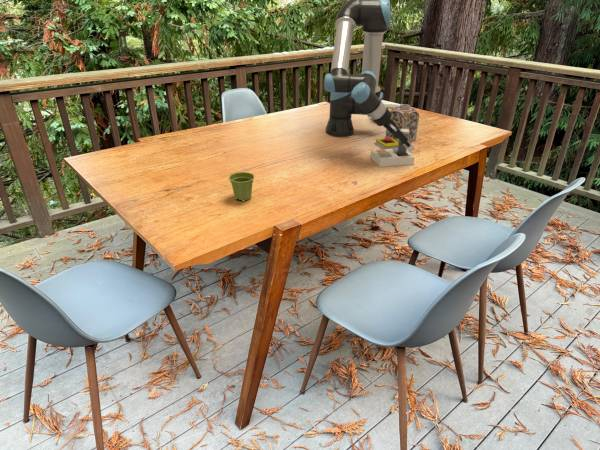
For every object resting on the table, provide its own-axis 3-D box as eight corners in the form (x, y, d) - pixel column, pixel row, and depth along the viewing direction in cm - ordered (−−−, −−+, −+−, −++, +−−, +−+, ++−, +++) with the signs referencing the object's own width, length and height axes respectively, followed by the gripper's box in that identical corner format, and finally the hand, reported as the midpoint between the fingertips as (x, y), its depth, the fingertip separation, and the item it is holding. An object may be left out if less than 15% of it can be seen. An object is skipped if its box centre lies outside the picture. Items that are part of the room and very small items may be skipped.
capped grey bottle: (395, 154, 190) (398, 128, 184) (403, 154, 190) (407, 128, 184) (398, 157, 186) (402, 131, 180) (407, 157, 187) (411, 131, 181)
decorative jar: (402, 145, 208) (407, 109, 199) (384, 139, 216) (388, 104, 207) (416, 140, 215) (422, 105, 206) (398, 134, 223) (402, 100, 214)
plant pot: (231, 192, 160) (229, 172, 156) (255, 192, 161) (254, 171, 156) (229, 204, 152) (227, 182, 148) (255, 203, 153) (254, 181, 148)
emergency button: (389, 134, 211) (405, 143, 199) (388, 142, 213) (404, 152, 201) (373, 135, 209) (388, 145, 196) (372, 144, 211) (387, 154, 199)
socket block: (370, 157, 194) (371, 149, 192) (402, 155, 196) (403, 147, 194) (379, 167, 183) (380, 158, 181) (413, 164, 186) (414, 156, 184)
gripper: (366, 114, 184) (396, 148, 195) (380, 126, 170) (412, 161, 181) (378, 102, 182) (408, 136, 194) (394, 112, 168) (425, 149, 179)
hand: (410, 148), depth 187 cm, fingers closed on capped grey bottle, 4 cm apart
